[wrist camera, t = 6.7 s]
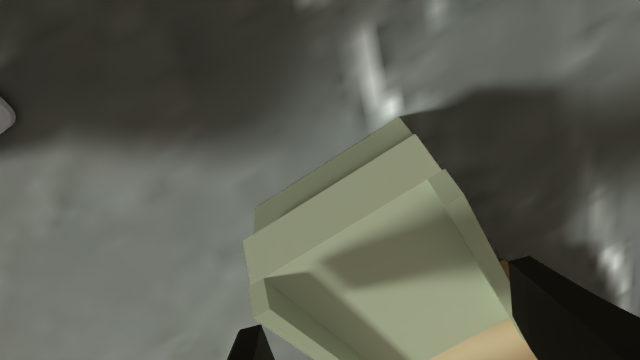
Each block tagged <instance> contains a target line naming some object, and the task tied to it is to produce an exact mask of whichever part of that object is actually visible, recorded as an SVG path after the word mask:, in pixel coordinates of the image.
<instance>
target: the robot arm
mask: <svg viewBox="0 0 640 360" xmlns="http://www.w3.org/2000/svg"><path fill="white" fill-rule="evenodd" d="M15 119H16V116H15V112H14V111H13V109H12V108H11V107H10V106H9V105H8V104H7V103H6V102H5V101H4V100H3V99H2V98H1V97H0V134H1V133H3V132H4V131H5V130H7V129H8V128H9V127H11V126H12V125H13V124H14V122H15ZM508 264H509V278H510V291H511V305H512V316H513V318H514V320H515V322H516V324H517V326H518V328H519V330H520V332H521V333H522V335H523V337H524V339H525V341H526V342H527V344H528V346H529V348H530V349H531V351H532V352H533V354H534V355H535V357H536V358H537V360H640V318H639V317H637V316H635V315H633V314H631V313H629V312H627V311H625V310H623V309H621V308H619V307H617V306H615V305H613V304H611V303H609V302H608V301H606V300H604V299H602V298H600V297H598V296H596V295H595V294H593V293H591V292H589V291H588V290H586V289H584V288H582V287H580V286H579V285H577V284H575V283H574V282H572V281H570V280H569V279H567V278H565V277H563V276H562V275H560V274H558V273H557V272H555V271H553V270H552V269H550V268H549V267H547V266H545V265H544V264H542V263H540V262H539V261H537V260H535V259H534V258H532V257H530V256H528V257H524V258H520V259H516V260H512V261H508ZM227 360H275V359H274V357H273V354H272V351H271V349H270V346H269V344H268V341H267V339H266V336H265V334H264V331H263V328H262V326H261V325H257V326H253V327H249V328H245V329H241V330H240V331H239V332H238V334H237V337H236V339H235V342H234V344H233V346H232V349H231V351H230V354H229V356H228V358H227Z"/></svg>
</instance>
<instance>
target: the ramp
mask: <svg viewBox="0 0 640 360" xmlns="http://www.w3.org/2000/svg"><path fill="white" fill-rule="evenodd" d="M243 245H244V251H245V256H246V262H247V268H248V274H249V279H250V285H251V286H249V287H248V290H249V296H250V302H251V308H252V314H253V319H255V320H256V321H258V322H259V323H261V324H262V325H264V326H265V327H267V328H268V329H270V330H271V331H273V332H274V333H276V334H277V335H278V336H280V337H281V338H283V339H284V340H286V341H287V342H289V343H290V344H292V345H293V346H295V347H296V348H298V349H299V350H301V351H302V352H304V353H305V354H307V355H308V356H310V357H311V358H312V359H314V360H429V359H431V358H433V357H435V356H437V355H439V354H441V353H442V352H444V351H446V350H448V349H450V348H452V347H454V346H456V345H457V344H459V343H461V342H463V341H465V340H467V339H469V338H471V337H473V336H474V335H476V334H478V333H480V332H482V331H484V330H486V329H488V328H489V327H491V326H493V325H495V324H497V323H499V322H501V321H503V320H504V319H506V318H508V317H509V319H510V320H511V322H512V324H513V325H514V327H515V328H516V330H517V331H518V333H519V334H520V336H521V337H522V339H523V340H524V341H525V339H524V337H523V335H522V333H521V332H520V330H519V328H518V326H517V324H516V322H515V320H514V318H513V316H512V305H511V291H510V282H509V280H508V278H507V276H506V274H505V272H504V270H503V268H502V267H501V265H500V263H499V261H498V259H497V257H496V255H495V253H494V251H493V249H492V247H491V245H490V244H489V242H488V240H487V238H486V236H485V234H484V232H483V230H482V228H481V226H480V224H479V222H478V220H477V219H476V217H475V215H474V213H473V211H472V209H471V207H470V205H469V203H468V201H467V199H466V197H465V195H464V194H463V192H462V191H461V190H460V188H459V187H458V186H457V184H456V183H455V182H454V180H453V179H452V178H451V176H450V175H449V174H448V172H447V171H446V169H443V170H441V168H440V167H439V166H438V164H437V163H436V162H435V160H434V159H433V157H432V156H431V155H430V153H429V152H428V151H427V149H426V148H425V146H424V145H423V144H422V142H421V141H420V140H419V138H418V137H417V135H416V134H414V135H413V134H412V133H411V131H410V130H409V129H408V128H407V126H406V125H405V124H404V123H403V121H402V120H401V119H400V118H399V117H398V118H397V119H395V120H394V121H392V122H390V123H389V124H387V125H386V126H384V127H383V128H381V129H379V130H378V131H376V132H375V133H373V134H371V135H370V136H368V137H367V138H365V139H364V140H362V141H360V142H359V143H357V144H356V145H354V146H353V147H351V148H349V149H348V150H346V151H345V152H343V153H342V154H340V155H338V156H337V157H335V158H334V159H332V160H330V161H329V162H327V163H326V164H324V165H323V166H321V167H319V168H318V169H316V170H315V171H313V172H312V173H310V174H308V175H307V176H305V177H304V178H302V179H300V180H299V181H297V182H296V183H294V184H293V185H291V186H289V187H288V188H286V189H285V190H283V191H282V192H280V193H278V194H277V195H275V196H274V197H272V198H271V199H269V200H267V201H266V202H264V203H263V204H261V205H259V206H258V207H256V208H255V221H254V234H253V235H252V236H250V237H249V238H247V239H245V240H244V241H243Z"/></svg>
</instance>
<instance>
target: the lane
mask: <svg viewBox="0 0 640 360" xmlns="http://www.w3.org/2000/svg"><path fill="white" fill-rule="evenodd" d="M499 263H500V265H501V267H502V268H503V270H504V272H505V274H506V276H507V278H508V280H509V282H510V278H509V265H508V263H507V262H506V261H505V259H503V260H501V261H500V262H499ZM429 360H537V358H536V357H535V355H534V354H533V352H532V351H531V349H530V348H529V346H528V344H527V342H526V341H524V340H523V339H522V337H521V336H520V334H519V333H518V331H517V330H516V328H515V327H514V325H513V324H512V322H511V320H510V319H509V317H508V318H506V319H504V320H503V321H501V322H499V323H497V324H495V325H493V326H491V327H489V328H488V329H486V330H484V331H482V332H480V333H478V334H476V335H474V336H473V337H471V338H469V339H467V340H465V341H463V342H461V343H459V344H457V345H456V346H454V347H452V348H450V349H448V350H446V351H444V352H442V353H441V354H439V355H437V356H435V357H433V358H431V359H429Z"/></svg>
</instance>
